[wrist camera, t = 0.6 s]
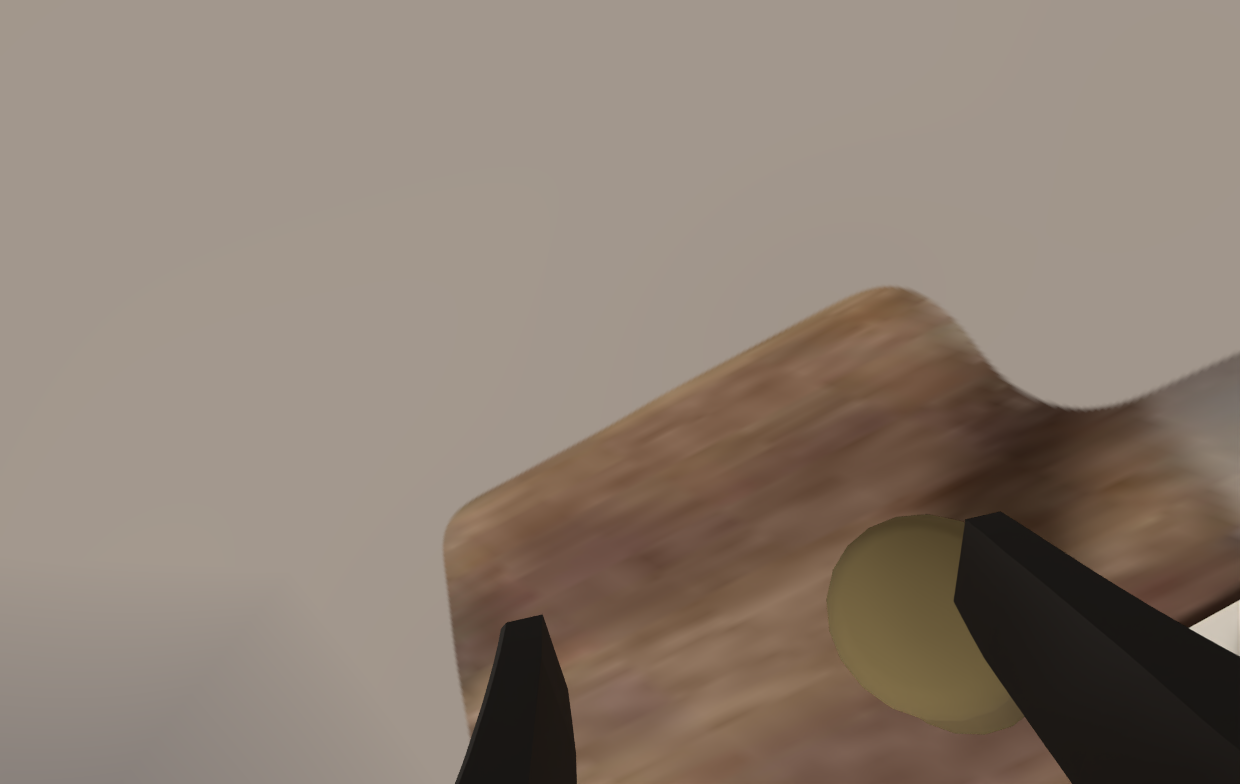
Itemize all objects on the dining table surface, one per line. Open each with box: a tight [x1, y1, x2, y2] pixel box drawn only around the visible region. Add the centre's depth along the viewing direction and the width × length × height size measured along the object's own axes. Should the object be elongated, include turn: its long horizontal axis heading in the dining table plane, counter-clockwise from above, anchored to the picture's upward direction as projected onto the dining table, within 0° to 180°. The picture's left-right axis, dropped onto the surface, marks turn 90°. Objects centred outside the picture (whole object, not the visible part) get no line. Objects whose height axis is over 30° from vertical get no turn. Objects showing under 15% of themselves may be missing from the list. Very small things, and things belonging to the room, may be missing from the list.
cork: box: [826, 514, 1025, 734], centre depth 21 cm, size 6×6×11 cm
